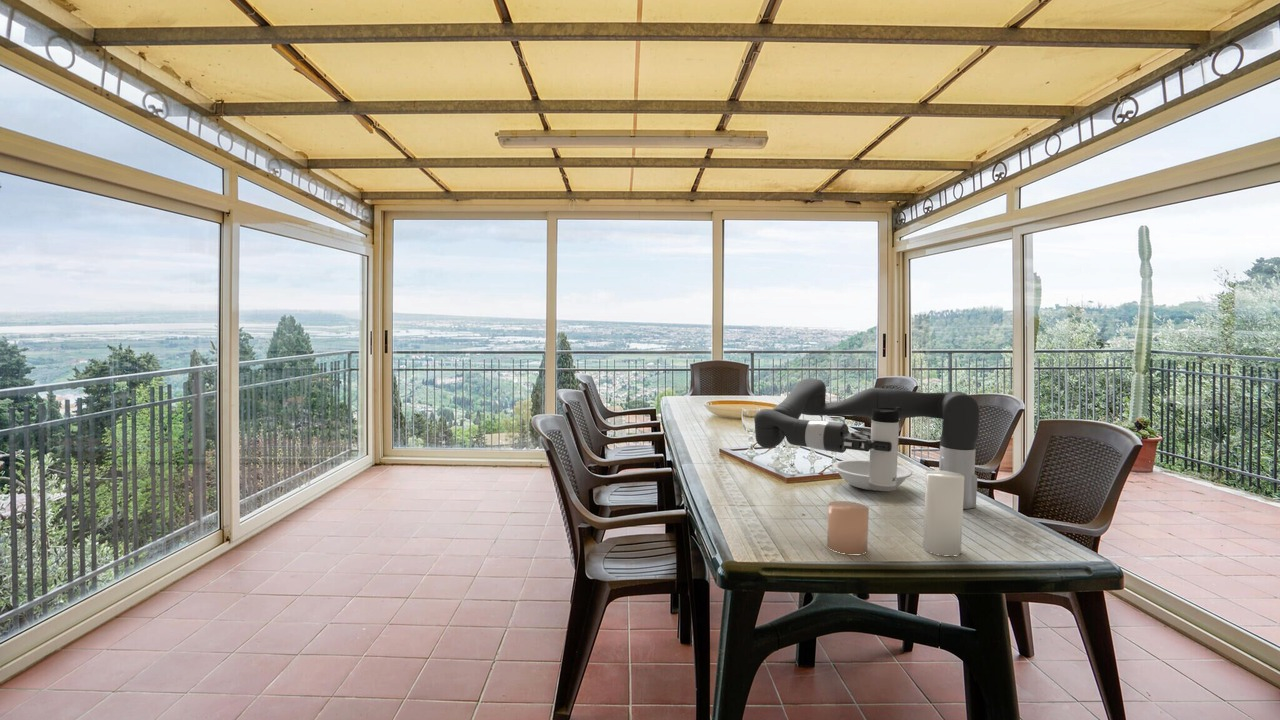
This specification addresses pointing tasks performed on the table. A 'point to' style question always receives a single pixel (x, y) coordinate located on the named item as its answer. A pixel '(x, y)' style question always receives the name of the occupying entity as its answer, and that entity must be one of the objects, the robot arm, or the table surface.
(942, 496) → the tall white cylinder
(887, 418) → the travel mug
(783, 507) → the table surface
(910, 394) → the robot arm
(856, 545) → the peach rounded cylinder
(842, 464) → the soup bowl
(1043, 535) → the table surface
